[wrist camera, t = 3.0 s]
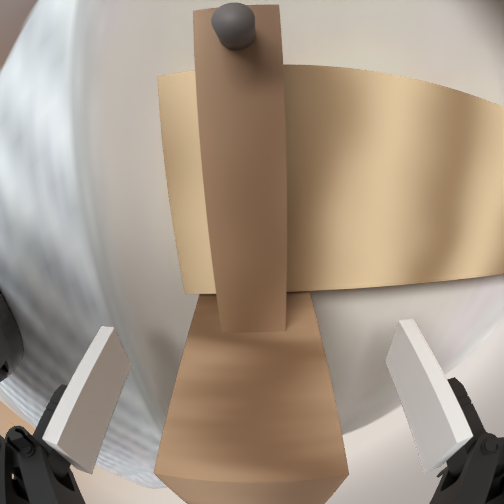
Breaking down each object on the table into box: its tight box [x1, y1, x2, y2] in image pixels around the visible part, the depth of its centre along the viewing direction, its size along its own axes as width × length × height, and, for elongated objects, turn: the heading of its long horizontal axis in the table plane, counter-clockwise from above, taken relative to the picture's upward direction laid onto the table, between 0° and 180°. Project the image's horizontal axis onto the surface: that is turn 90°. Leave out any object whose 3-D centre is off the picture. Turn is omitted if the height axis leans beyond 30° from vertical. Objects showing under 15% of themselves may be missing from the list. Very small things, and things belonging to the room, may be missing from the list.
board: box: [158, 65, 504, 294], centre depth 11 cm, size 22×9×2 cm, turn 93°
